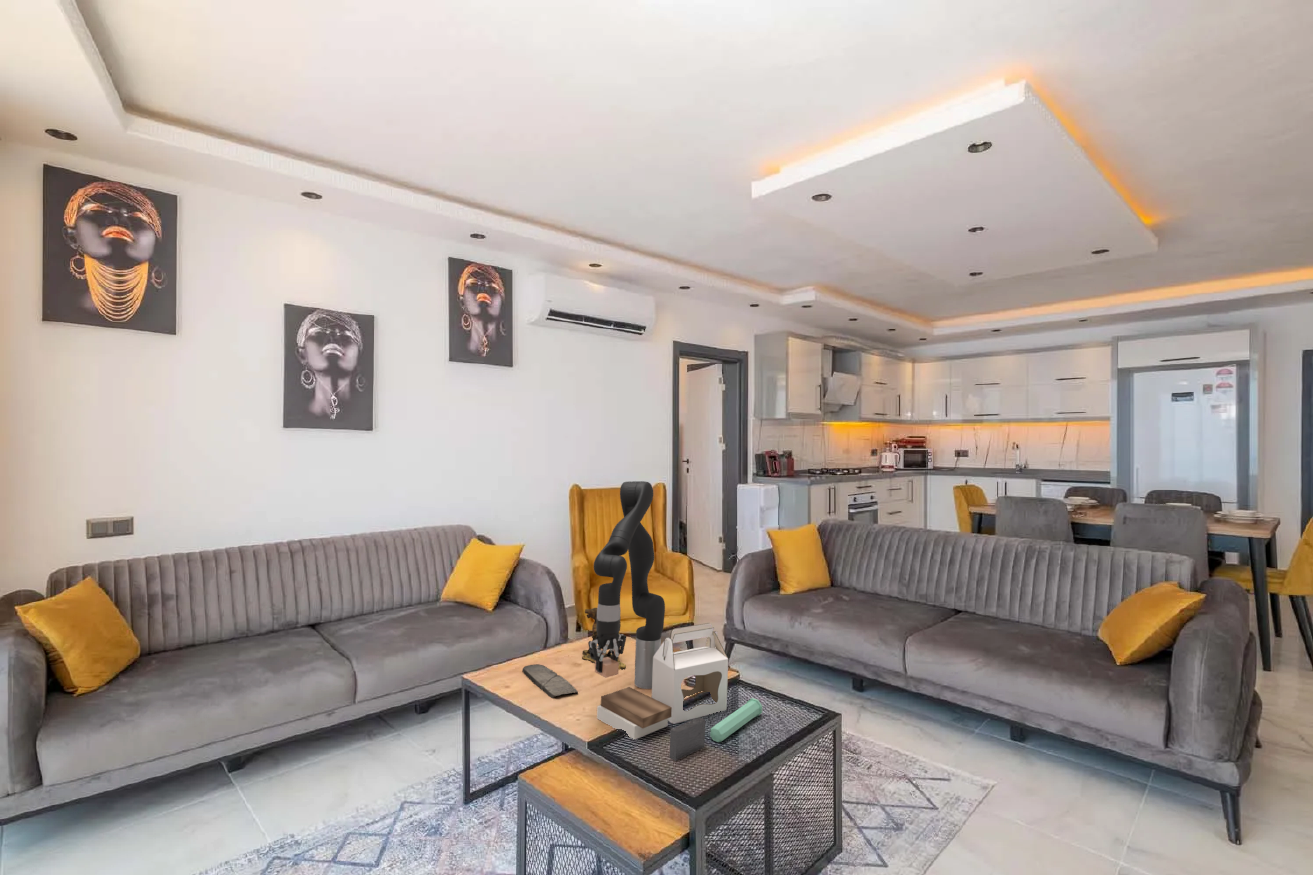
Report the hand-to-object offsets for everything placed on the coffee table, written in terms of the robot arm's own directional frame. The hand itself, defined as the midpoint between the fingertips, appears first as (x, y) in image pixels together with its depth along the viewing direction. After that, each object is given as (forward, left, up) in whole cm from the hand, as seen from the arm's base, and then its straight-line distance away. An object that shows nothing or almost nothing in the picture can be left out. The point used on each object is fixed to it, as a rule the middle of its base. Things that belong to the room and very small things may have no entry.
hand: (606, 669), depth 200 cm
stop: (-5, +32, -15) cm, 36 cm away
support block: (0, 0, -1) cm, 1 cm away
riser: (-5, +8, -15) cm, 18 cm away
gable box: (-26, +13, -16) cm, 33 cm away
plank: (-5, +9, -11) cm, 15 cm away
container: (-28, +31, -16) cm, 45 cm away
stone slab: (-2, -35, -16) cm, 39 cm away
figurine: (-32, -40, -16) cm, 53 cm away
